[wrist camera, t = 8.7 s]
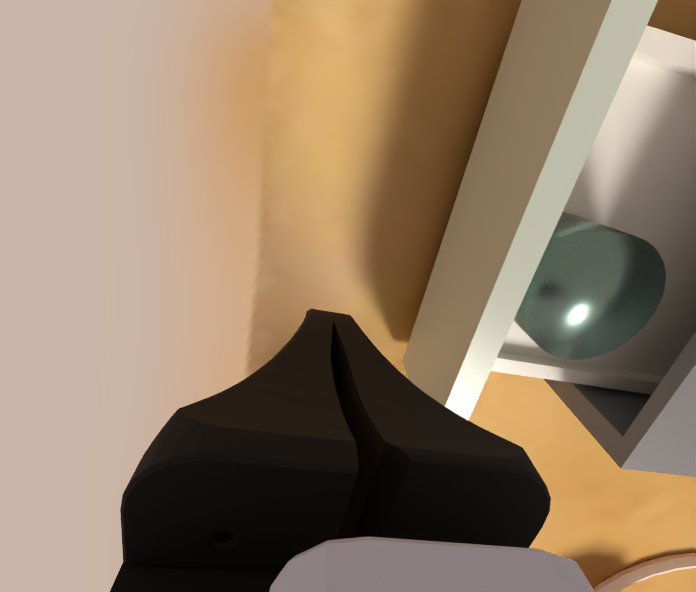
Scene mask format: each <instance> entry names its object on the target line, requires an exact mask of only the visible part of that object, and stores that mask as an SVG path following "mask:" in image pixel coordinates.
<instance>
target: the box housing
mask: <svg viewBox="0 0 696 592" xmlns="http://www.w3.org/2000/svg"><path fill="white" fill-rule="evenodd" d="M544 380H545V381H546V382H547V383H548V385H549V386H550V387H551V388H552V389H553V390H554V392H555V393H556V394H557V395H558V396H559V397H560V399H561V400H562V401H563V402H564V403H565V404H566V405H567V407H568V408H569V409H570V410H571V411H572V412H573V414H574V415H575V416H576V417H577V418H578V419H579V421H580V422H581V423H582V424H583V425H584V426H585V428H586V429H587V430H588V431H589V432H590V433H591V434H592V436H593V437H594V438H595V439H596V440H597V441H598V443H599V444H600V445H601V446H602V447H603V448H604V450H605V451H606V452H607V453H608V454H609V455H610V457H611V458H612V459H613V460H614V461H615V462H616V464H617V465H618V466H619V467H620V468H622V469H631V470H640V471H649V472H658V473H667V474H675V475H684V476H693V477H696V331H695V333H694V334H693V336H692V337H691V339H690V340H689V342H688V343H687V344H686V346H685V347H684V349H683V350H682V352H681V353H680V355H679V356H678V357H677V359H676V360H675V362H674V363H673V365H672V366H671V368H670V369H669V371H668V372H667V373H666V375H665V376H664V378H663V379H662V381H661V382H660V384H659V385H658V386H657V388H656V389H655V391H654V392H653V394H652V395H651V394H644V393H637V392H630V391H624V390H617V389H610V388H604V387H597V386H590V385H583V384H577V383H570V382H563V381H556V380H550V379H544Z"/></svg>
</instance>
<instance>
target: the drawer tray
mask: <svg viewBox="0 0 696 592" xmlns="http://www.w3.org/2000/svg"><path fill="white" fill-rule="evenodd" d="M657 2H658V0H521V4H520V7H519V10H518V13H517V16H516V19H515V22H514V25H513V28H512V31H511V34H510V37H509V40H508V43H507V46H506V49H505V52H504V55H503V58H502V61H501V64H500V67H499V70H498V73H497V76H496V79H495V82H494V85H493V88H492V91H491V94H490V97H489V101H488V104H487V107H486V110H485V113H484V116H483V119H482V122H481V125H480V128H479V131H478V134H477V137H476V140H475V143H474V146H473V149H472V152H471V155H470V158H469V161H468V164H467V167H466V170H465V173H464V176H463V179H462V182H461V185H460V188H459V191H458V194H457V198H456V201H455V204H454V207H453V210H452V213H451V216H450V219H449V222H448V225H447V228H446V231H445V234H444V237H443V240H442V243H441V246H440V249H439V252H438V255H437V258H436V261H435V264H434V267H433V270H432V273H431V276H430V279H429V282H428V285H427V288H426V291H425V295H424V298H423V301H422V304H421V307H420V310H419V313H418V316H417V319H416V322H415V325H414V328H413V331H412V334H411V337H410V340H409V343H408V346H407V349H406V352H405V355H404V358H403V364H404V367H405V370H406V373H407V376H408V379H409V380H410V381H411V382H412V383H413V384H414V385H416V386H417V387H418V388H419V389H421V390H422V391H423V392H425V393H426V394H427V395H429V396H430V397H432V398H433V399H435V400H436V401H437V402H439V403H440V404H442V405H443V406H445V407H446V408H448V409H450V410H451V411H453V412H454V413H456V414H458V415H459V416H461V417H463V418H465V419H466V420H469V418H470V415H471V413H472V411H473V409H474V407H475V404H476V402H477V400H478V398H479V395H480V393H481V391H482V389H483V387H484V384H485V382H486V380H487V378H488V376H489V373H490V371H496V372H502V373H509V374H516V375H523V376H529V377H536V378H543V379H550V380H556V381H563V382H570V383H577V384H583V385H590V386H597V387H604V388H610V389H617V390H624V391H630V392H637V393H644V394H651V395H652V394H653V392H654V391H655V389H656V388H657V386H658V385H659V384H660V382H661V381H662V379H663V378H664V376H665V375H666V373H667V372H668V371H669V369H670V368H671V366H672V365H673V363H674V362H675V360H676V359H677V357H678V356H679V355H680V353H681V352H682V350H683V349H684V347H685V346H686V344H687V343H688V342H689V340H690V339H691V337H692V336H693V334H694V333H695V331H696V41H695V40H692V39H688V38H685V37H682V36H679V35H676V34H673V33H669V32H666V31H663V30H660V29H657V28H654V27H651V26H647V24H648V22H649V19H650V17H651V15H652V13H653V10H654V8H655V6H656V4H657ZM562 212H565V213H571V214H574V215H577V216H580V217H583V218H586V219H589V220H591V221H594V222H597V223H600V224H603V225H605V226H608V227H611V228H614V229H617V230H620V231H622V232H625V233H628V234H631V235H634V236H637V237H639V238H642V239H644V240H645V241H647V242H649V243H650V244H651V245H653V246H654V247H655V249H656V250H657V251H658V252H659V254H660V256H661V257H662V260H663V262H664V265H665V271H666V283H665V289H664V293H663V296H662V299H661V301H660V304H659V306H658V308H657V309H656V311H655V313H654V314H653V316H652V317H651V319H650V320H649V321H648V323H647V324H646V325H645V326H644V327H643V328H642V329H641V330H640V331H639V332H638V333H637V334H636V335H635V336H634V337H632V338H631V339H630V340H629V341H627V342H626V343H624V344H623V345H621V346H620V347H618V348H616V349H614V350H612V351H610V352H608V353H606V354H603V355H600V356H597V357H593V358H588V359H581V360H570V359H563V358H558V357H555V356H553V355H550V354H549V353H547V352H545V351H544V350H543V349H541V348H540V347H539V346H538V345H537V344H536V343H535V342H534V341H533V340H532V339H531V338H530V337H529V336H528V335H527V334H526V333H525V332H524V331H523V330H522V329H521V328H520V327H519V326H518V325H517V324H516V323H515V322H514V321H513V320H514V318H515V316H516V314H517V311H518V309H519V307H520V305H521V303H522V300H523V298H524V296H525V294H526V291H527V289H528V287H529V285H530V283H531V280H532V278H533V276H534V274H535V272H536V269H537V267H538V265H539V263H540V261H541V258H542V256H543V254H544V252H545V249H546V247H547V245H548V243H549V241H550V238H551V236H552V234H553V232H554V230H555V227H556V225H557V223H558V221H559V218H560V216H561V214H562Z"/></svg>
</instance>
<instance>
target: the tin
mask: <svg viewBox="0 0 696 592" xmlns="http://www.w3.org/2000/svg"><path fill="white" fill-rule="evenodd" d="M665 283H666V271H665V265H664V262H663V260H662V257H661V256H660V254H659V252H658V251H657V250H656V249H655V247H654V246H653V245H651V244H650V243H649V242H647V241H645V240H644V239H642V238H639V237H637V236H634V235H631V234H628V233H625V232H622V231H620V230H617V229H614V228H611V227H608V226H605V225H603V224H600V223H597V222H594V221H591V220H589V219H586V218H583V217H580V216H577V215H574V214H571V213H565V212H562V214H561V216H560V218H559V221H558V223H557V225H556V227H555V230H554V232H553V234H552V236H551V238H550V241H549V243H548V245H547V247H546V249H545V252H544V254H543V256H542V258H541V261H540V263H539V265H538V267H537V269H536V272H535V274H534V276H533V278H532V280H531V283H530V285H529V287H528V289H527V291H526V294H525V296H524V298H523V300H522V303H521V305H520V307H519V309H518V311H517V314H516V316H515V318H514V320H513V321H514V322H515V323H516V324H517V325H518V326H519V327H520V328H521V329H522V330H523V331H524V332H525V333H526V334H527V335H528V336H529V337H530V338H531V339H532V340H533V341H534V342H535V343H536V344H537V345H538V346H539V347H540V348H541V349H543V350H544V351H545V352H547V353H549V354H550V355H553V356H555V357H558V358H563V359H570V360H581V359H588V358H593V357H597V356H600V355H603V354H606V353H608V352H610V351H612V350H614V349H616V348H618V347H620V346H621V345H623V344H624V343H626V342H627V341H629V340H630V339H631V338H632V337H634V336H635V335H636V334H637V333H638V332H639V331H640V330H641V329H642V328H643V327H644V326H645V325H646V324H647V323H648V321H649V320H650V319H651V317H652V316H653V314H654V313H655V311H656V309H657V308H658V306H659V304H660V301H661V299H662V296H663V293H664V289H665Z"/></svg>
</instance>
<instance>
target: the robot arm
mask: <svg viewBox="0 0 696 592" xmlns="http://www.w3.org/2000/svg"><path fill="white" fill-rule="evenodd" d="M550 500H551V498H550V495H549V492H548V489H547V486H546V485H545V483H544V481H543V480H542V478H541V476H540V475H539V473H538V472H537V470H536V468H535V467H534V465H533V463H532V462H531V460H530V459H529V457H528V455H527V454H526V452H525V451H524V449H523V448H522V447H520V446H518V445H516V444H514V443H512V442H510V441H508V440H506V439H504V438H501V437H499V436H497V435H495V434H493V433H491V432H489V431H487V430H485V429H483V428H481V427H479V426H477V425H475V424H473V423H472V422H470V421H468V420H466V419H465V418H463V417H461V416H459V415H458V414H456V413H454V412H453V411H451V410H450V409H448V408H446V407H445V406H443V405H442V404H440V403H439V402H437V401H436V400H435V399H433V398H432V397H430V396H429V395H427V394H426V393H425V392H423V391H422V390H421V389H419V388H418V387H417V386H416V385H414V384H413V383H412V382H411V381H410V380H408V379H407V378H406V377H405V376H404V375H403V374H401V373H400V372H399V371H398V370H397V369H396V368H395V367H394V366H393V365H392V364H391V363H390V362H389V361H388V360H387V359H386V358H385V357H384V356H383V355H382V354H381V353H380V351H379V350H378V349H377V348H376V347H375V346H374V345H373V343H372V342H371V341H370V340H369V339H368V337H367V336H366V335H365V334H364V332H363V331H362V330H361V329H360V327H359V326H358V325H357V323H356V322H355V321H354V319H353V318H352V317H351V316H350V315H346V314H340V313H334V312H328V311H321V310H315V309H310V310H308V311H307V313H306V317H305V319H304V321H303V323H302V324H301V326H300V328H299V329H298V330H297V332H296V333H295V334H294V336H293V337H292V338H291V340H290V341H289V342H288V343H287V344H286V345H285V346H284V347H283V348H282V349H281V351H280V352H279V353H278V354H276V355H275V356H274V357H273V358H272V359H271V360H270V361H269V362H268V363H266V364H265V365H264V366H263V367H261V368H260V369H259V370H257V371H256V372H254V373H253V374H252V375H250V376H249V377H247V378H246V379H244V380H243V381H241V382H239V383H238V384H236V385H234V386H232V387H230V388H228V389H227V390H225V391H222V392H220V393H218V394H216V395H214V396H211V397H209V398H206V399H203V400H201V401H198V402H196V403H193V404H190V405H188V406H185V407H182V408H179V409H178V410H177V411H176V412H175V413H174V415H173V416H172V417H171V418H170V419H169V421H168V422H167V423H166V425H165V426H164V427H163V428H162V430H161V431H160V432H159V434H158V435H157V436H156V438H155V439H154V440H153V442H152V443H151V445H150V446H149V448H148V449H147V451H146V452H145V454H144V455H143V457H142V459H141V461H140V463H139V464H138V466H137V468H136V470H135V472H134V474H133V476H132V478H131V480H130V482H129V484H128V486H127V488H126V489H125V491H124V493H123V497H122V504H121V528H122V545H123V561H124V562H123V564H122V566H121V568H120V571H119V573H118V575H117V577H116V579H115V582H114V584H113V586H112V588H111V591H110V592H595V591H594V590H593V588H592V586H591V585H590V583H589V581H588V579H587V578H586V576H585V575H584V573H583V572H582V570H581V569H580V567H579V565H578V564H577V562H576V561H574V560H571V559H569V558H566V557H564V556H560V555H557V554H553V553H550V552H546V551H543V550H540V549H534V548H529V546H530V545H531V543H532V542H533V540H534V539H535V537H536V536H537V534H538V533H539V531H540V530H541V528H542V527H543V524H544V522H545V520H546V518H547V516H548V514H549V511H550Z"/></svg>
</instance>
